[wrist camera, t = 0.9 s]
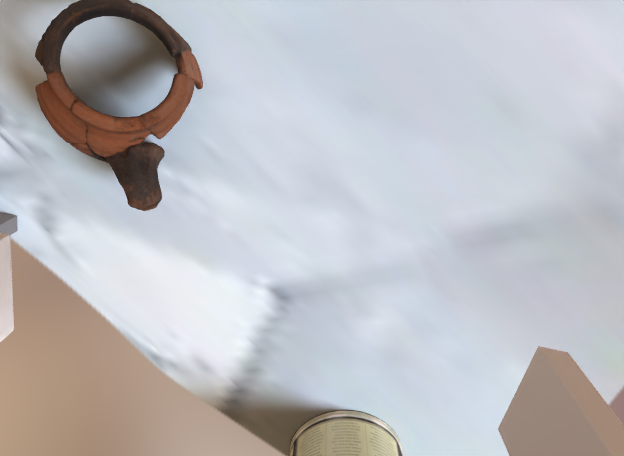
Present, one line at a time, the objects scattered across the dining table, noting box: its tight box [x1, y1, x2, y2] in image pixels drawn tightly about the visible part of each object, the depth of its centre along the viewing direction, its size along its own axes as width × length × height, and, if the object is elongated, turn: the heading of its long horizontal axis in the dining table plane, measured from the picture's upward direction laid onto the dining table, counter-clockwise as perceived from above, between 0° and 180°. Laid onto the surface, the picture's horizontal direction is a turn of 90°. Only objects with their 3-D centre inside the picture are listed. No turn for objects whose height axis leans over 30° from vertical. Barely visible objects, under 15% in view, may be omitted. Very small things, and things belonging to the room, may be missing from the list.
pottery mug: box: [35, 0, 203, 211], centre depth 28 cm, size 12×10×8 cm
